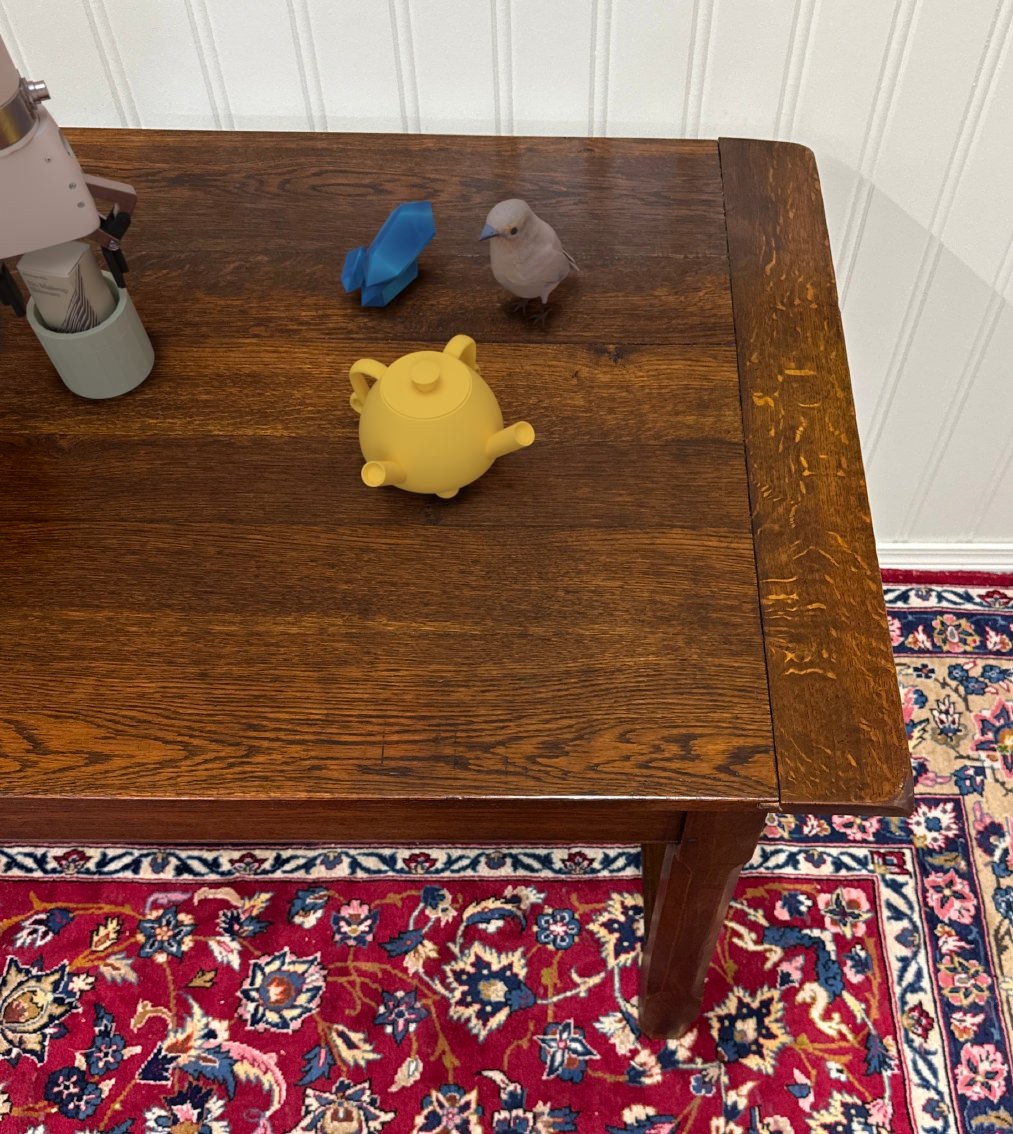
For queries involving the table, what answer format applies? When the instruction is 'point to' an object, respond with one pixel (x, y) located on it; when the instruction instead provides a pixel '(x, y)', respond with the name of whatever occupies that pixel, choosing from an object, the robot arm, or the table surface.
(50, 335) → the jar
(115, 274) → the robot arm
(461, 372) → the teapot
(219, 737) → the table surface
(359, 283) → the crystal
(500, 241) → the bird
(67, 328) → the box
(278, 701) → the table surface
